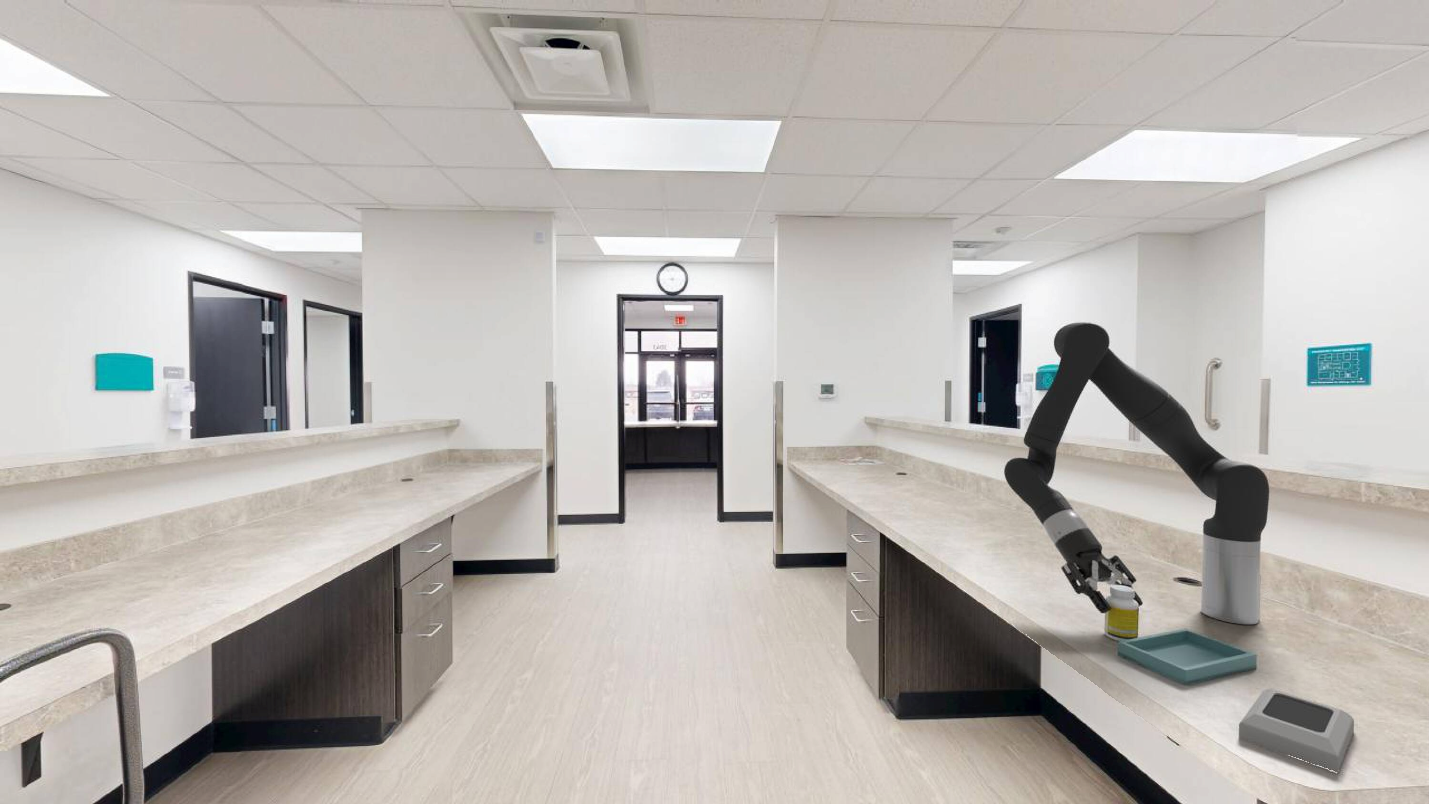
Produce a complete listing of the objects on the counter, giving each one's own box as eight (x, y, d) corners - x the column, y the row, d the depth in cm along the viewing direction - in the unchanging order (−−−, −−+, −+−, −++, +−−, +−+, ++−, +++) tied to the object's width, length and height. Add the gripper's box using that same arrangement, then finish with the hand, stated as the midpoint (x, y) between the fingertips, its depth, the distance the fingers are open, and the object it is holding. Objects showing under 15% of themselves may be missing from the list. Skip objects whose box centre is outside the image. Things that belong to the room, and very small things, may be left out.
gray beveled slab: (1239, 714, 82) (1264, 682, 91) (1238, 740, 82) (1263, 705, 91) (1338, 748, 75) (1354, 709, 84) (1337, 777, 75) (1353, 734, 84)
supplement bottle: (1143, 644, 112) (1144, 593, 112) (1112, 642, 113) (1113, 591, 113) (1129, 632, 117) (1130, 584, 117) (1099, 630, 118) (1100, 582, 118)
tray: (1185, 641, 113) (1185, 628, 113) (1256, 668, 103) (1256, 654, 102) (1117, 654, 108) (1117, 641, 107) (1185, 685, 97) (1186, 670, 97)
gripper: (1057, 529, 120) (1109, 604, 110) (1108, 524, 125) (1163, 596, 114) (1034, 548, 125) (1083, 621, 115) (1084, 542, 130) (1135, 613, 120)
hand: (1122, 608), depth 115 cm, fingers open, 8 cm apart
